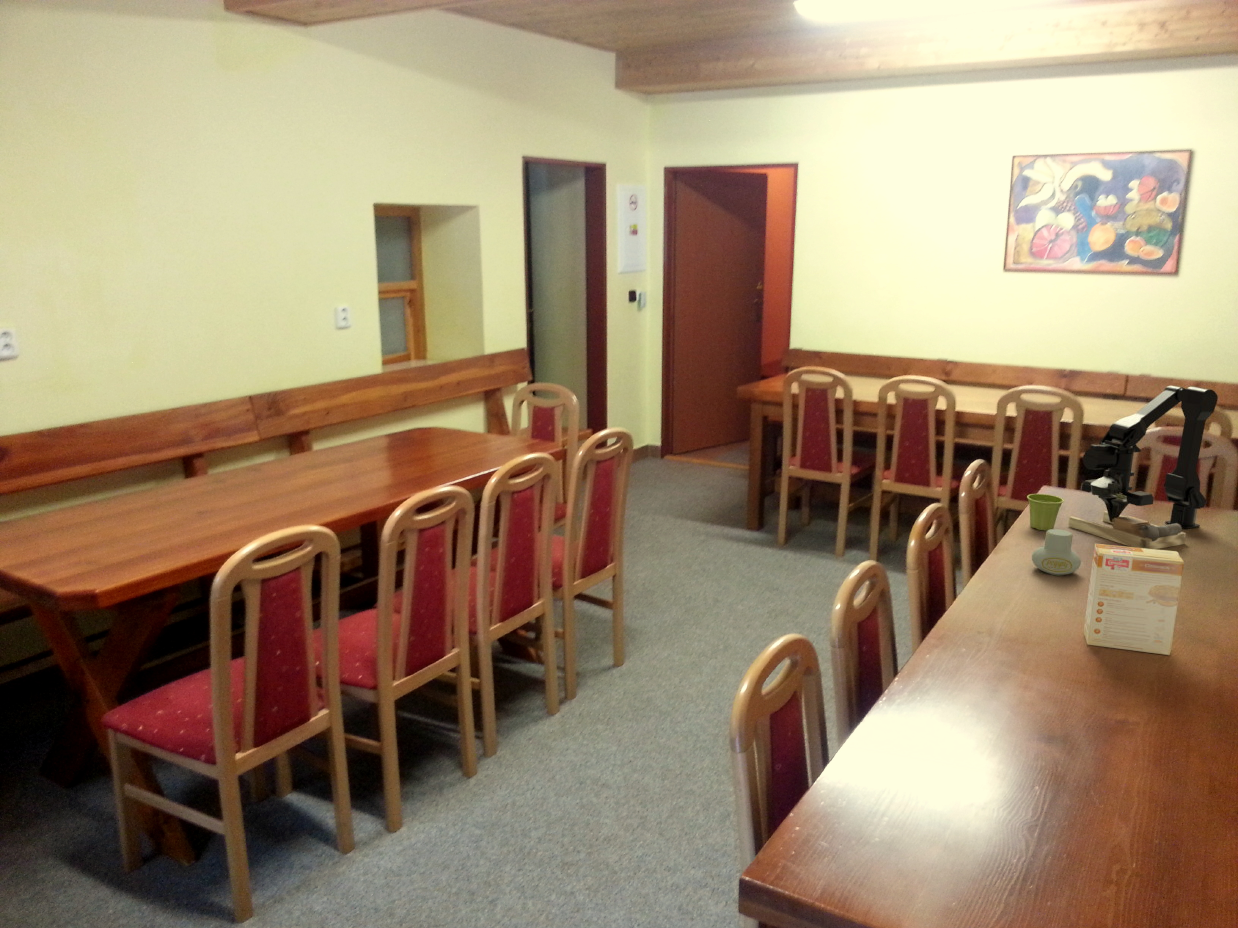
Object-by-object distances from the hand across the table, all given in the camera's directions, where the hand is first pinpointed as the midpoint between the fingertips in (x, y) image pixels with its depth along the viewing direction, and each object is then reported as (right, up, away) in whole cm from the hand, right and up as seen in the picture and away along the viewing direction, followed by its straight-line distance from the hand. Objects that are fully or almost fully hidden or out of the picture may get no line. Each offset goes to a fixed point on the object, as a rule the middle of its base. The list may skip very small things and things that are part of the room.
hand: (1112, 522), depth 267 cm
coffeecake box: (-36, -20, -75) cm, 86 cm away
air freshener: (-31, -10, -33) cm, 47 cm away
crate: (+2, -4, -5) cm, 7 cm away
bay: (+2, -3, -3) cm, 5 cm away
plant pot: (-19, -2, +3) cm, 19 cm away
